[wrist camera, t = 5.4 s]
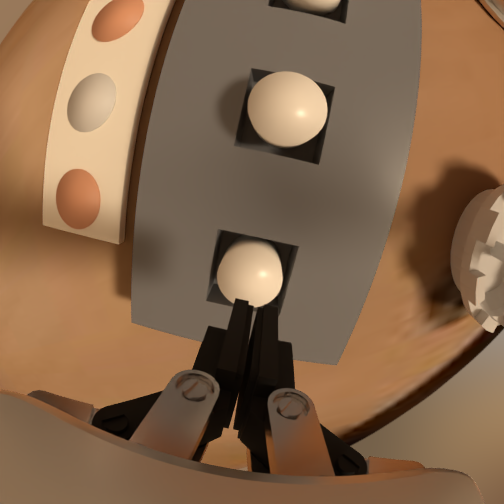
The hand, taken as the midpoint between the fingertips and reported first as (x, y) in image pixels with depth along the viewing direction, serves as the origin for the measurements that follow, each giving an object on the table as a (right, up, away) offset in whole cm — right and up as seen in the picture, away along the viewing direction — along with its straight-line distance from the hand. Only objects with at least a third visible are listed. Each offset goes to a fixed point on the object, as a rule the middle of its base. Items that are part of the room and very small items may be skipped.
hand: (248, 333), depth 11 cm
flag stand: (+23, +4, +9) cm, 25 cm away
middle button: (+2, +11, +5) cm, 13 cm away
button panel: (+2, +12, +7) cm, 14 cm away
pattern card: (-12, +15, +7) cm, 21 cm away
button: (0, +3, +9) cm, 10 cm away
